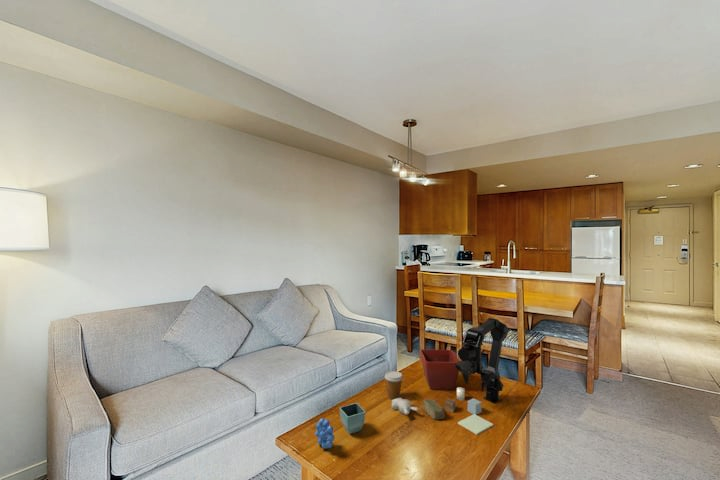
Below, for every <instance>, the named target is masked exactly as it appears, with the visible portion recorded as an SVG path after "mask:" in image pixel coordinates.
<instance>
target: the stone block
mask: <svg viewBox="0 0 720 480" xmlns="http://www.w3.org/2000/svg"><path fill="white" fill-rule="evenodd" d="M422 409H423V410H424V411H425V413H427V414H428V416H430V418H432V419H433V420H435V421H436V420H442V419H445V408H444V407H443V406H442V405H440V404H439V403H438V402H437V401H436V400H435V399H433V398H428V399H423V401H422Z"/></svg>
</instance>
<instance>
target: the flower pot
mask: <svg viewBox="0 0 720 480" xmlns="http://www.w3.org/2000/svg"><path fill="white" fill-rule="evenodd" d="M339 414H340V415H339V416H340V420H341V423H342V425H343V427H344V429H345V430H346V432H347V433H348V434H349V435H351V434H355V433H357V432H360V431H361V430H362V428H363V427H364V425H365V419H366V411H365V409H364V408H363V407H361V405H360V404H359V403H358V402H355V403H351V404H347V405H344V406H343V405H342V406H341V407H339Z"/></svg>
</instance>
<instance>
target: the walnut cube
mask: <svg viewBox="0 0 720 480" xmlns="http://www.w3.org/2000/svg"><path fill="white" fill-rule="evenodd" d="M456 405H457V402H456V400H453V399H450V398H447V399H446V400H445V401H444V411H448V412H451V413H454V412H455V411H456V409H457V407H456Z"/></svg>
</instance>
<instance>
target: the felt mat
mask: <svg viewBox="0 0 720 480" xmlns="http://www.w3.org/2000/svg"><path fill="white" fill-rule="evenodd" d="M457 424H458V425H460V426H462V427H463V428H465V430H468V431H470V432H471V433H473V434H475V435H478V434H481V433H483V432H485V431H486V430H488V429H489V428H491V427H493V426H494V423H492V422H490V421H489V420H486V419H485V418H483V417H481V416H479V415H478V414H477V415H475V414H472V415H469V416H466V418H464V419H461V420H460V421H458V422H457Z"/></svg>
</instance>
